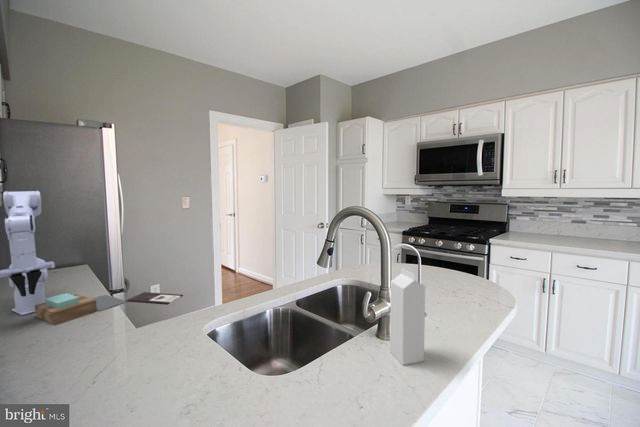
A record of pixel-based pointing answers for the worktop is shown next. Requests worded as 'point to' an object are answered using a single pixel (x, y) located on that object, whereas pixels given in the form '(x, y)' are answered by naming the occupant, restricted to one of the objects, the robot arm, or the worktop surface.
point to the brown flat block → (66, 310)
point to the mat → (107, 302)
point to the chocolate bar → (155, 298)
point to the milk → (407, 318)
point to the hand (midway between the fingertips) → (27, 294)
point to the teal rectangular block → (61, 301)
